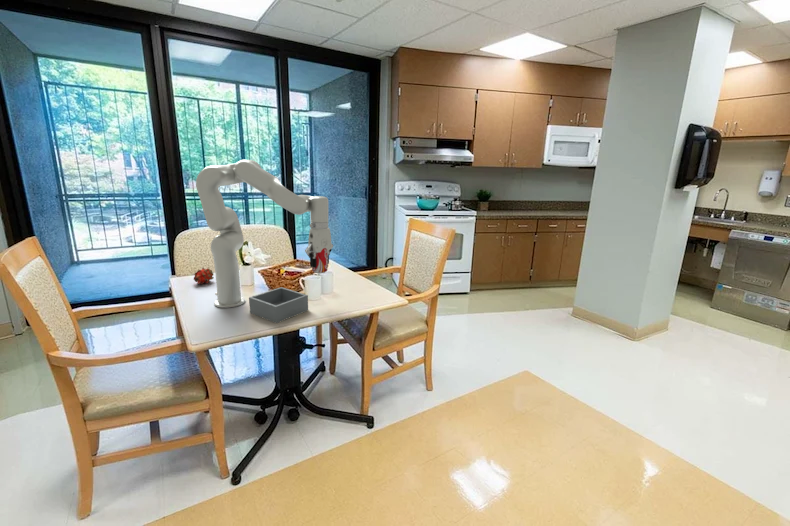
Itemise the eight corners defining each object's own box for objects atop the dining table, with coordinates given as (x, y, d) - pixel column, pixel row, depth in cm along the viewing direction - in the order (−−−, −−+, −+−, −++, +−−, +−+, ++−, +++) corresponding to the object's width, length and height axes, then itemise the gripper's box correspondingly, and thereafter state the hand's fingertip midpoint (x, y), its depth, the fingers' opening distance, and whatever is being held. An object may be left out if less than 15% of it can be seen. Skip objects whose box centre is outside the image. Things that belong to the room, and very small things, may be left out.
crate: (250, 312, 154) (248, 297, 153) (282, 301, 168) (281, 287, 166) (276, 323, 145) (275, 306, 144) (308, 310, 159) (307, 295, 157)
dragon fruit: (214, 282, 196) (198, 292, 185) (201, 272, 195) (185, 282, 185) (220, 271, 192) (204, 281, 181) (207, 261, 192) (190, 270, 181)
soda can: (324, 274, 158) (324, 248, 155) (308, 273, 160) (308, 246, 157) (330, 270, 165) (330, 244, 162) (315, 269, 166) (315, 243, 163)
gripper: (310, 228, 148) (311, 270, 153) (339, 224, 162) (339, 263, 167) (298, 226, 152) (298, 267, 156) (327, 222, 166) (327, 260, 171)
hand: (319, 264), depth 162 cm, fingers closed on soda can, 7 cm apart
